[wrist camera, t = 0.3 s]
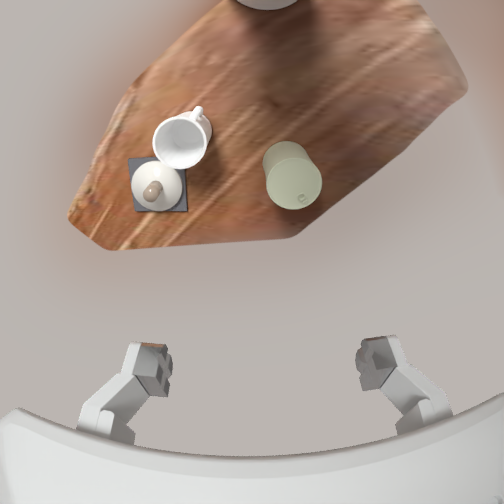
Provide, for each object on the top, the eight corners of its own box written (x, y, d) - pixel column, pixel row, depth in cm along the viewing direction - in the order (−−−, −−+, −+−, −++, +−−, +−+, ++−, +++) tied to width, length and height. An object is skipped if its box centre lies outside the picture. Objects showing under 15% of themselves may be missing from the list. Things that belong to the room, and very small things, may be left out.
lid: (130, 161, 51) (120, 169, 47) (181, 159, 51) (175, 167, 47) (136, 209, 57) (128, 220, 53) (184, 208, 58) (179, 220, 54)
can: (278, 192, 57) (285, 220, 47) (253, 156, 52) (254, 178, 42) (317, 169, 54) (332, 193, 44) (293, 132, 49) (305, 147, 39)
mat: (129, 158, 51) (127, 159, 50) (184, 155, 52) (183, 157, 51) (136, 209, 58) (135, 211, 57) (187, 209, 59) (186, 211, 58)
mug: (200, 160, 52) (190, 178, 44) (161, 140, 49) (144, 154, 41) (228, 113, 47) (223, 121, 39) (187, 91, 44) (173, 95, 36)
